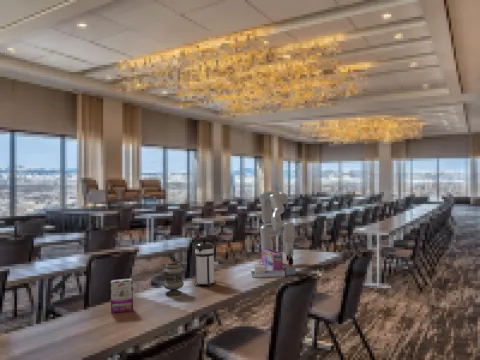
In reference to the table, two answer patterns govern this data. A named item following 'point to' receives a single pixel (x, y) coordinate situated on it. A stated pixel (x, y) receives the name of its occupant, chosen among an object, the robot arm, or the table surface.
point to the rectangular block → (270, 273)
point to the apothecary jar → (173, 278)
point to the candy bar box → (121, 295)
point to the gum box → (272, 260)
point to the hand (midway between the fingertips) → (289, 263)
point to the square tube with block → (289, 270)
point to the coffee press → (204, 263)
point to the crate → (259, 269)
